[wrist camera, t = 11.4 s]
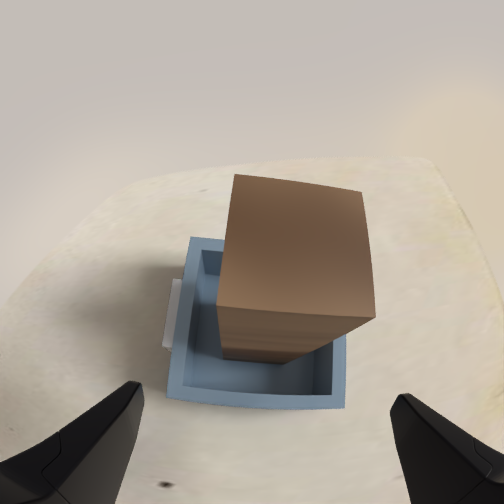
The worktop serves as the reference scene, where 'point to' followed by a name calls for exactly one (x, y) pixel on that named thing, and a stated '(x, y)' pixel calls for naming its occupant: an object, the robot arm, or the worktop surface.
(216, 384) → the holder
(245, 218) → the upright wooden block
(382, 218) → the worktop surface
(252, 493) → the worktop surface
